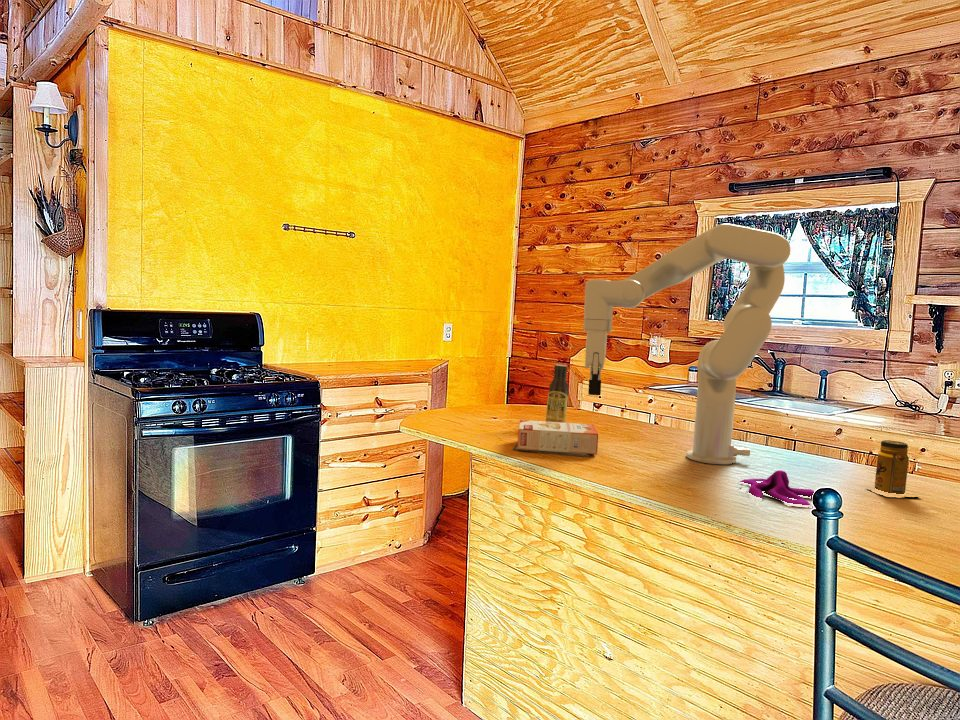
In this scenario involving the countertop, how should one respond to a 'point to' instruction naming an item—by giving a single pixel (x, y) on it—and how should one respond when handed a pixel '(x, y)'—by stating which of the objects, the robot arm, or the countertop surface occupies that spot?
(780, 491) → the cloth
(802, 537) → the countertop surface
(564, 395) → the sauce bottle
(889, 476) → the condiment
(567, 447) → the cracker box
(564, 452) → the mat
